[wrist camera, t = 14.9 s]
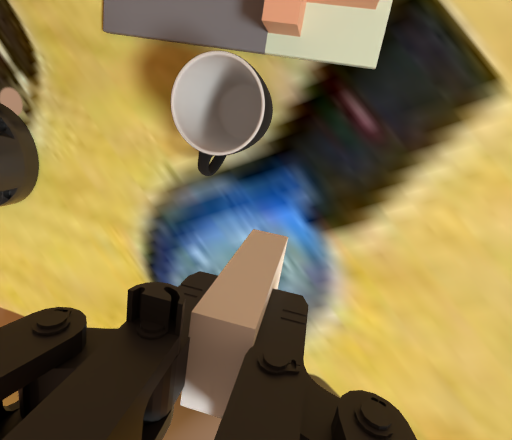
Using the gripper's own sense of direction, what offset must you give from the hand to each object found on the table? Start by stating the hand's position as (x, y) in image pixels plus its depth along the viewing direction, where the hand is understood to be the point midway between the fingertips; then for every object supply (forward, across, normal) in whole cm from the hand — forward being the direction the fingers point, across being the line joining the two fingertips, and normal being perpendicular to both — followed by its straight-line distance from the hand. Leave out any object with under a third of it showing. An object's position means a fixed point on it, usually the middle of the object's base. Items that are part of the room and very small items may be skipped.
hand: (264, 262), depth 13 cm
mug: (+27, -9, +5) cm, 29 cm away
